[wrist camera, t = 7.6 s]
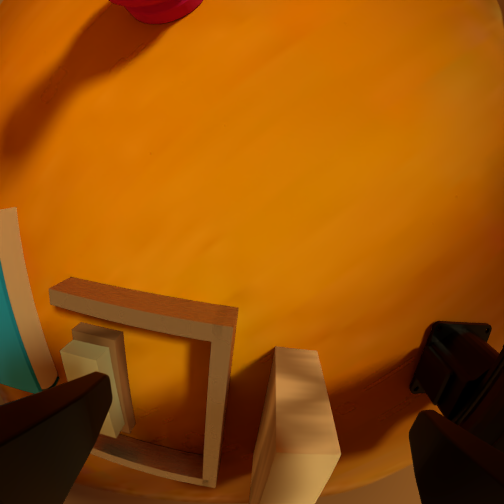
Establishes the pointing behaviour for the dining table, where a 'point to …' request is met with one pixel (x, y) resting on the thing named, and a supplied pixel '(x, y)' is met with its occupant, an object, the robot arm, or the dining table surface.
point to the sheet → (294, 433)
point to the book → (20, 318)
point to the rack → (176, 323)
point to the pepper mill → (158, 9)
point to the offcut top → (85, 362)
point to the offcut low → (118, 361)
